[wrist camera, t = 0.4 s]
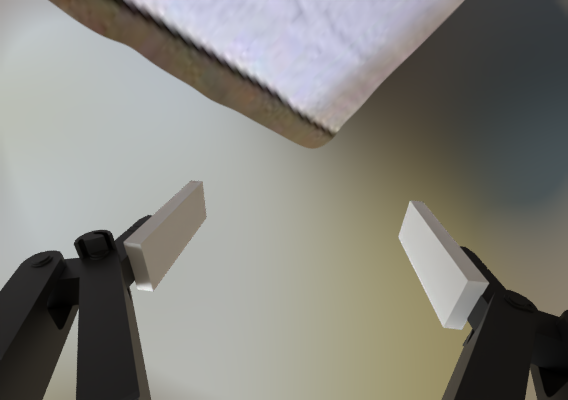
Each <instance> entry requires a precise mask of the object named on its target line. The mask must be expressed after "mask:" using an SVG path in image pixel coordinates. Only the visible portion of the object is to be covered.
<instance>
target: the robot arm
mask: <svg viewBox="0 0 568 400" xmlns="http://www.w3.org/2000/svg"><path fill="white" fill-rule="evenodd" d="M205 219H206V209H205V200H204V191H203V182H201V181H190V182H189V183H188V184H187V185H186V186H185V187H184V188H182V189H181V190H180V191H179V192H178V193H177V194H176V195H175V196H174V197H173V198H172V199H170V200H169V201H168V202H167V203H166V204H165V205H164V206H163V207H162V208H160V209H159V210H158V211H157V212H156V213H155V214H154V215H153V216H151V215H148V216H145V217H143V218H141V219H139V220H138V221H137V222H136V223H135V224H133V226H131V227H130V228H129V229H128V230H127V231H125V232H124V233H123V234H122V235H121V236H120V237H118V238H117V239H116V240H115V241H114V238H113V235H112V233H111V232H110V231H107V230H96V231H92V232H89V233H86V234H84V235H82V236H80V237H79V238H77V239H76V240H75V242H74V246H75V248H76V250H77V253H78V255H79V258H73V259H64V258H63V255H62V254H61V253H60V252H59V251H45V252H41V253H38V254H35V255H33V256H31V257H30V258H28V259H26V260H25V261H24V262H23V263H22V264H21V265H20V266H19V267H18V269H17V270H16V271H15V273H14V274H13V275H12V277H11V278H10V279H9V280H8V282H7V283H6V284H5V286H4V287H3V288H2V290H1V291H0V400H42V399H43V397H44V394H45V392H46V389H47V387H48V384H49V382H50V379H51V376H52V374H53V372H54V369H55V366H56V364H57V362H58V359H59V356H60V354H61V351H62V349H63V346H64V344H65V341H66V339H67V336H68V334H69V331H70V329H71V326H72V324H73V321H74V318H75V316H76V314H77V311H78V308H79V320H78V352H77V353H78V354H77V387H76V400H151V397H150V391H149V386H148V380H147V375H146V370H145V364H144V359H143V354H142V349H141V343H140V339H139V333H138V327H137V322H136V317H135V311H134V306H133V301H132V295H131V291H130V287H129V286H130V285H131V284H132V283H133V282H134V281H135V282H136V286H137V289H139V290H147V291H154V289H155V288H156V287H157V285H158V284H159V283H160V281H161V280H162V278H163V277H164V276H165V274H166V273H167V271H168V270H169V269H170V267H171V266H172V265H173V263H174V262H175V260H176V259H177V258H178V256H179V255H180V253H181V252H182V251H183V249H184V248H185V246H186V245H187V243H188V242H189V241H190V240H191V238H192V237H193V235H194V234H195V233H196V231H197V230H198V228H199V227H200V226H201V224H202V223H203V222H204V220H205ZM399 239H400V242H401V244H402V246H403V248H404V249H405V252H406V253H407V256H408V257H409V259H410V262H411V263H412V266H413V268H414V270H415V272H416V274H417V276H418V278H419V280H420V282H421V284H422V286H423V288H424V290H425V292H426V294H427V296H428V298H429V300H430V302H431V304H432V306H433V308H434V310H435V312H436V314H437V316H438V318H439V320H440V322H441V324H442V326H443V327H445V328H452V329H460V330H462V328H463V327H464V325H465V323H466V322H467V320H468V322H469V323H470V325H471V327H472V328H473V329H472V330H471V332H470V334H469V335H468V337H467V339H466V340H465V342H464V344H463V346H464V348H463V351H462V353H461V355H460V357H459V360H458V362H457V364H456V367H455V369H454V372H453V374H452V376H451V379H450V381H449V383H448V386H447V388H446V390H445V393H444V395H443V398H442V400H525V395H526V389H527V382H528V376H529V370H530V369H531V374H532V378H533V382H534V386H535V391H536V396H537V400H568V310H566V311H564V312H563V313H562V315H561V316H560V317H558V316H554V315H551V314H548V313H545V312H541V311H538V309H537V308H536V306H535V305H534V304H533V303H532V302H531V301H530V300H528V299H527V298H526V297H524V296H522V295H520V294H519V293H516V292H513V291H511V290H506V289H505V288H504V286H503V285H502V284H501V283H500V282H499V281H498V280H497V278H496V277H495V276H494V275H493V274H492V273H491V271H490V270H489V269H487V267H486V266H485V265H484V263H482V261H481V260H480V259H479V258H478V257H477V256H476V255H475V253H473V252H472V251H470V250H469V249H468V248H466V247H461V246H459V245H458V244H457V243H456V242H455V240H454V239H453V238H452V237H451V236H450V234H449V233H448V232H447V231H446V229H445V228H444V227H443V226H442V225H441V223H440V222H439V221H438V220H437V218H436V217H435V216H434V215H433V213H432V212H431V211H430V210H429V209H428V207H427V206H426V205H425V204H424V202H421V201H410V202H409V205H408V209H407V212H406V215H405V218H404V221H403V224H402V228H401V231H400V234H399Z"/></svg>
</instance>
